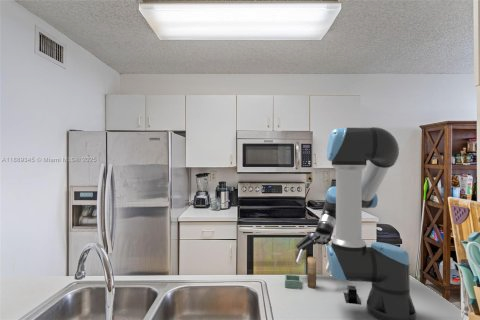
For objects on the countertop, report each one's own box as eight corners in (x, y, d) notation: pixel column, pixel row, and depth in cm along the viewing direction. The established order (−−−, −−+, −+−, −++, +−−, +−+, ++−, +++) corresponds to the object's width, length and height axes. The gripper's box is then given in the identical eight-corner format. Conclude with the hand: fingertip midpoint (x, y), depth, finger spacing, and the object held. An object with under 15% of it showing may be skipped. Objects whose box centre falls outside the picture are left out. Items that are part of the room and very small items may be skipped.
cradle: (301, 288, 114) (301, 281, 114) (285, 287, 115) (285, 280, 115) (300, 282, 121) (300, 275, 121) (285, 281, 122) (285, 274, 122)
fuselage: (316, 288, 114) (316, 259, 115) (307, 287, 115) (307, 259, 115) (315, 285, 118) (315, 256, 118) (307, 284, 119) (307, 256, 119)
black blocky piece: (364, 308, 99) (364, 295, 99) (343, 305, 101) (343, 293, 101) (359, 293, 111) (359, 282, 111) (340, 291, 113) (340, 280, 113)
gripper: (354, 235, 124) (343, 278, 112) (304, 227, 140) (289, 264, 128) (350, 225, 120) (338, 269, 108) (299, 218, 136) (283, 256, 124)
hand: (311, 267), depth 118 cm, fingers open, 13 cm apart
